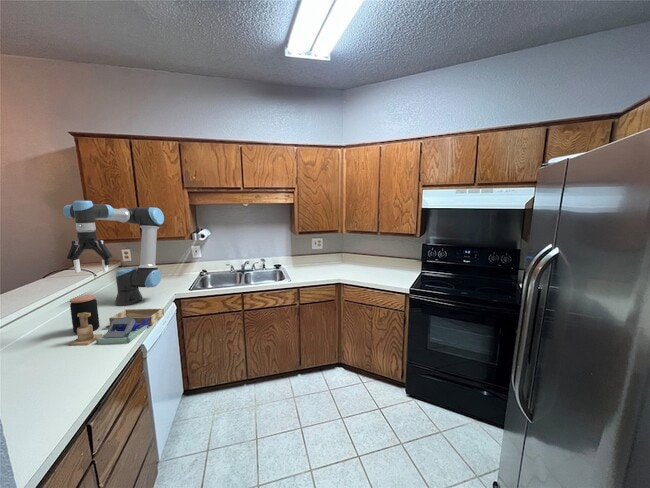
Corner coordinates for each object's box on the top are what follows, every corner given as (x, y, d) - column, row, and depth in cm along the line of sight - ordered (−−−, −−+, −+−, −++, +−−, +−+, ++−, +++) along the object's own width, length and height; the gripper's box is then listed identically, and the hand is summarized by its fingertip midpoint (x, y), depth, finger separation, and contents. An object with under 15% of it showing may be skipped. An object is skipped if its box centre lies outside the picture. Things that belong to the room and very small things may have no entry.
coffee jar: (97, 324, 154) (93, 293, 152) (102, 329, 147) (98, 297, 145) (71, 331, 146) (67, 298, 143) (75, 336, 139) (71, 302, 137)
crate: (126, 319, 161) (125, 309, 160) (164, 318, 162) (163, 308, 161) (110, 328, 148) (109, 318, 147) (151, 327, 149) (150, 317, 148)
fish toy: (113, 335, 137) (113, 321, 137) (117, 332, 144) (116, 319, 144) (149, 329, 144) (148, 316, 144) (150, 326, 151) (150, 314, 151)
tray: (119, 329, 147) (119, 325, 147) (148, 328, 148) (148, 324, 148) (96, 344, 131) (96, 339, 131) (128, 343, 132) (128, 338, 132)
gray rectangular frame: (107, 340, 134) (104, 337, 132) (118, 318, 142) (116, 315, 140) (126, 339, 134) (123, 337, 132) (136, 318, 143) (134, 315, 140)
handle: (84, 336, 139) (81, 310, 137) (102, 336, 140) (99, 309, 138) (68, 345, 130) (65, 317, 129) (88, 344, 131) (84, 316, 129)
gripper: (53, 232, 135) (59, 274, 138) (107, 231, 137) (112, 272, 140) (66, 230, 142) (72, 270, 145) (117, 230, 144) (122, 269, 148)
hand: (92, 271), depth 143 cm, fingers open, 13 cm apart
